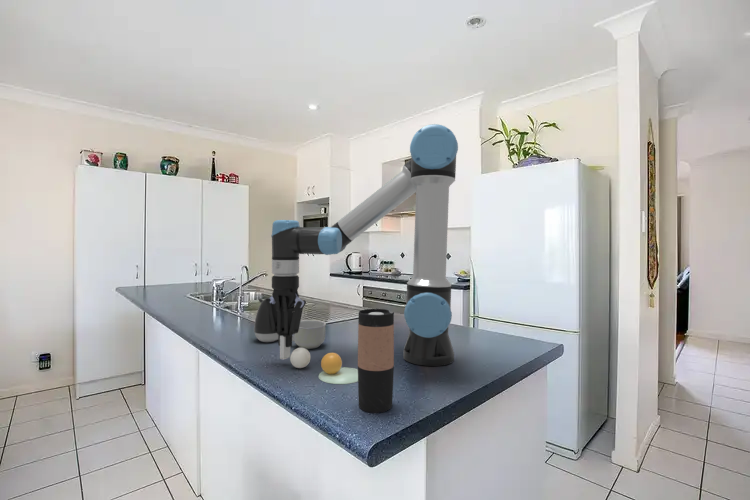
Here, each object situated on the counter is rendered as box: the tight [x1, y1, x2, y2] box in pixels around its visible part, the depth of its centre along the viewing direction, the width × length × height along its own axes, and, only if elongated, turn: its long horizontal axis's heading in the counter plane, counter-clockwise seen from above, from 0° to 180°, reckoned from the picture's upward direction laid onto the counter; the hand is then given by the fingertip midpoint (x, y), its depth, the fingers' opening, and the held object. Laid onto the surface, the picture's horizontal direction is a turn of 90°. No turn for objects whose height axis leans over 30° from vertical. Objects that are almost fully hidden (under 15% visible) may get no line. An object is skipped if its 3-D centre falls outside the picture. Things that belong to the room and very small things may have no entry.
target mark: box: [318, 366, 358, 385], centre depth 97 cm, size 12×12×1 cm
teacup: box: [292, 319, 327, 350], centre depth 125 cm, size 14×11×8 cm
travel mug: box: [357, 308, 395, 414], centre depth 79 cm, size 8×8×20 cm
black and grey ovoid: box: [253, 297, 278, 343], centre depth 132 cm, size 10×10×15 cm
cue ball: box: [289, 347, 311, 369], centre depth 103 cm, size 6×6×6 cm
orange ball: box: [320, 352, 343, 374], centre depth 99 cm, size 6×6×6 cm
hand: (285, 357), depth 106 cm, fingers closed
